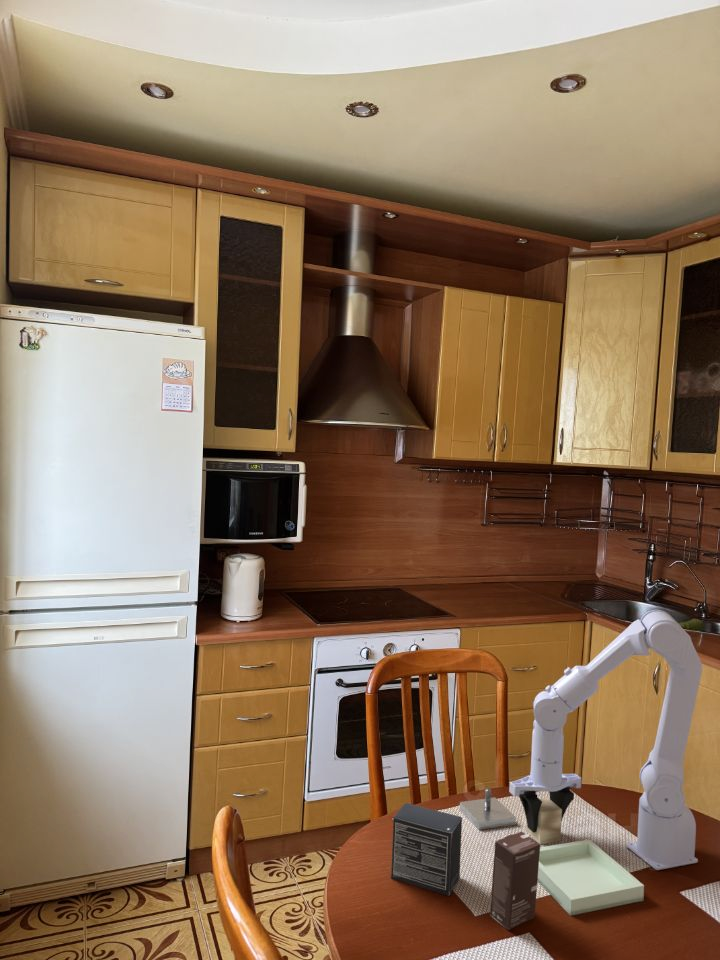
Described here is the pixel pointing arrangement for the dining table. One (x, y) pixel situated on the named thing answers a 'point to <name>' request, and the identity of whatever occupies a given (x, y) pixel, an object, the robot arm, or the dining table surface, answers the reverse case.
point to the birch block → (547, 823)
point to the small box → (426, 848)
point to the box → (514, 880)
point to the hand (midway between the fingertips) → (543, 827)
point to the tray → (586, 878)
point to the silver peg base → (487, 812)
